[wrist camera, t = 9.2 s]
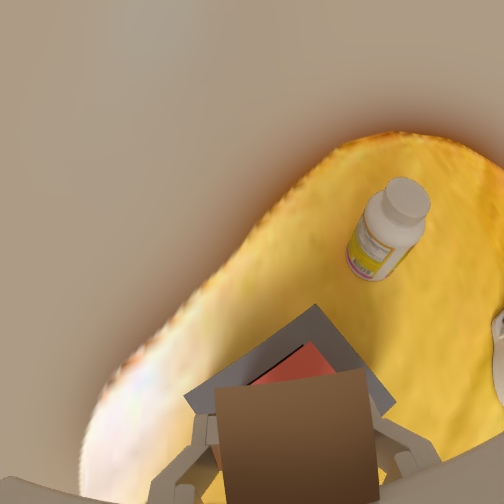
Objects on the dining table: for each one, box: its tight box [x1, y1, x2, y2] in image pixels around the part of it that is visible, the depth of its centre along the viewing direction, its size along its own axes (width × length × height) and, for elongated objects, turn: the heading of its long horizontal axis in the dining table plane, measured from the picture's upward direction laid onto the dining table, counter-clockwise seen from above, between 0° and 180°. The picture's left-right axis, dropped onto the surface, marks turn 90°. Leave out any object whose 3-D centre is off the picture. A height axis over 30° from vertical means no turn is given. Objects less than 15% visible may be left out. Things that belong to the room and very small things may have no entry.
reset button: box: [251, 341, 336, 385], centre depth 21 cm, size 6×6×5 cm
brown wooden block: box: [214, 367, 380, 504], centre depth 11 cm, size 4×4×11 cm
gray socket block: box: [183, 304, 396, 417], centre depth 26 cm, size 13×11×9 cm
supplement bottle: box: [346, 177, 430, 281], centre depth 32 cm, size 7×7×13 cm
